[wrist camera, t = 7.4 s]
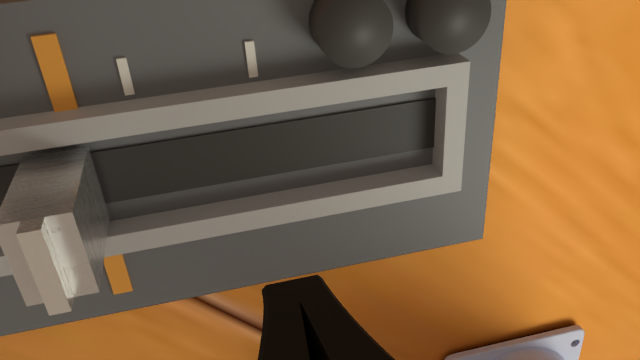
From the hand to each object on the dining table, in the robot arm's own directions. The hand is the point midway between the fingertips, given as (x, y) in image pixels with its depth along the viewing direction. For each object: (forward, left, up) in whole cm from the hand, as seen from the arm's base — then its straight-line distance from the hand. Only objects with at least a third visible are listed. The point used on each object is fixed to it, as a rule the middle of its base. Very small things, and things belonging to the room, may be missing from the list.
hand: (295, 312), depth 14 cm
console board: (0, +2, -10) cm, 10 cm away
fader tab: (0, +6, -8) cm, 10 cm away
